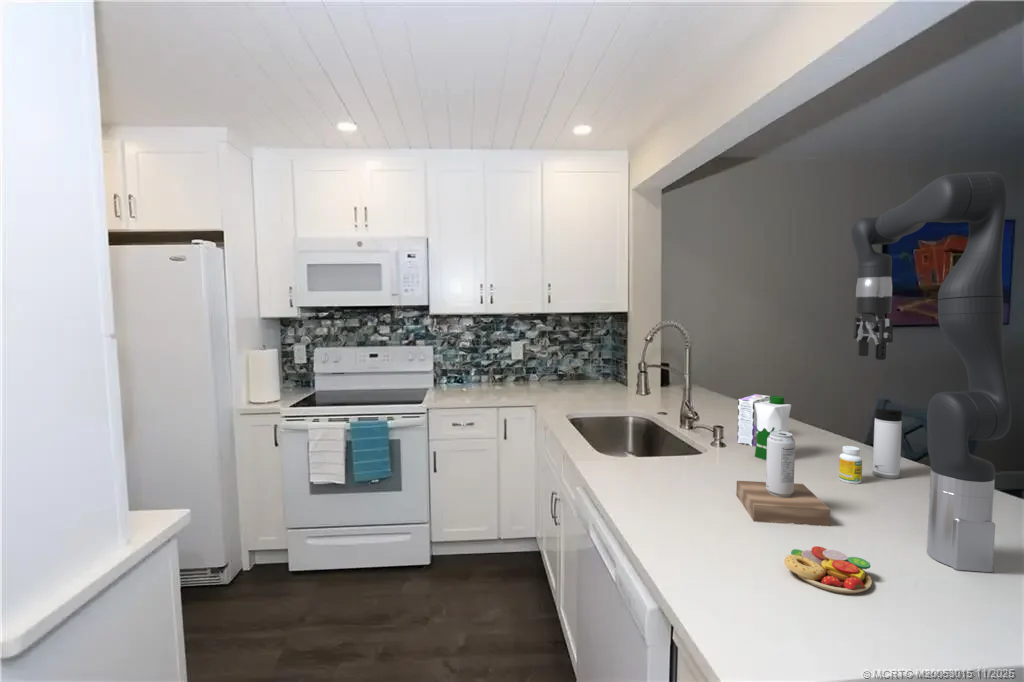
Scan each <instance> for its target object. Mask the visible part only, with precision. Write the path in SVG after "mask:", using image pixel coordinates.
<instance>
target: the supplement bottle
mask: <svg viewBox="0 0 1024 682" xmlns="http://www.w3.org/2000/svg"><path fill="white" fill-rule="evenodd" d="M860 451H861V449H860V448H859V447H857V446H853V445H844V446H842V453H840V454H839V458H838V459H839V460H838V461H839V465H838V479H839V480H840V482H844V483H847V484H851V483H852V485H855V484H856V485H857V484H858V483H859V484H861V483H862V479H863V478H862V477H863V476H862V474H863V457H862V456H861V455H860V453H861V452H860Z"/></svg>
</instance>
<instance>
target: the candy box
mask: <svg viewBox="0 0 1024 682" xmlns="http://www.w3.org/2000/svg"><path fill="white" fill-rule="evenodd" d="M770 396H771V395H764V394H758V393H757V394H756V393H754V394H752V395H749V396H746V397H742V398H738V400H737V401H738V402H737V404H738V405H737V439H736V440H737V441H736V442H737V444H739V443H742V444H741V445H744V444H746V445H745V446H748V445H751V446H750V447H755V446H756V440H757V413H756V408H755V404H754V403H760V402H765V401H770ZM754 445H755V446H754Z"/></svg>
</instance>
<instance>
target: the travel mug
mask: <svg viewBox="0 0 1024 682" xmlns="http://www.w3.org/2000/svg"><path fill="white" fill-rule="evenodd" d="M874 414H875V415H874V423H873V424H874V426H873V427H874V428H873V429H874V430H873V449H872V453H873V454H872V455H873V458H872V474H873V476H876V477H878V478H881V477H882V479H888V480H889V479H890V480H895V479H896V480H898V479H899V478H900V470H901V452H902V449H901V448H902V425H903V424H902V421H903V418H902V417H903V411H902V410H900V409H891V408H890V409H883V408H874Z"/></svg>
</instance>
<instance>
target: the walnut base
mask: <svg viewBox="0 0 1024 682" xmlns="http://www.w3.org/2000/svg"><path fill="white" fill-rule="evenodd" d="M735 493H736V495H735V496H736V498H738V500H739V502H740V503H741V504H742V506H743V508H744V509H745V511H746V512H747V514H748V515H749V517H750V518H751V519H752V522H755V521H757V523H771V522H773V523H775V522H776V523H775V524H787V523H794V524H793V525H803V524H809V525H808V526H819V525H821V526H822V527H830V521H831V508H829V507H828V506H827V505H826V504H825V503H824V502H823V501H822V500H821V499H820V498H819V497H818V496H816V495H815V494H814V493H813V492H812V491H811V490H810V489H809V488H808V487H807V486H806V485H804V483H795V482H794V492H793V493H792V494H791V496H789V497H778V496H774V495H771V494H770V493H769V492H768V490H767V489H766V481H754V480H753V481H752V480H736V492H735Z"/></svg>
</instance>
